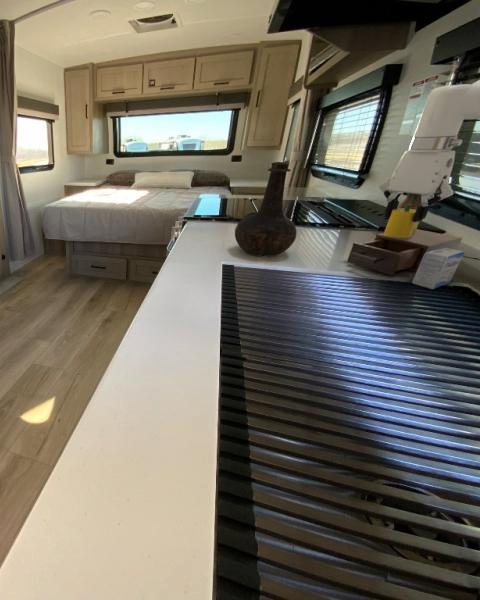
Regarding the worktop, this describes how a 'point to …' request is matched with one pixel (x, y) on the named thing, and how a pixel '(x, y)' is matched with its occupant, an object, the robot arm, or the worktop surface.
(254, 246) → the glass bottle
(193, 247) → the worktop surface
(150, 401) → the worktop surface
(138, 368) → the worktop surface
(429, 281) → the medicine box
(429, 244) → the cabinet
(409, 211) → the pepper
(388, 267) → the drawer
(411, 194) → the sauce bottle
